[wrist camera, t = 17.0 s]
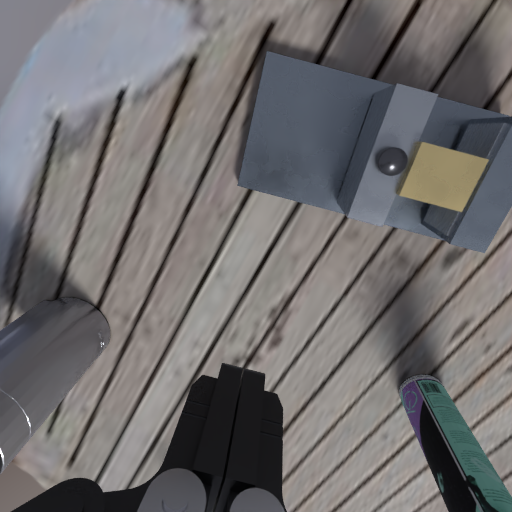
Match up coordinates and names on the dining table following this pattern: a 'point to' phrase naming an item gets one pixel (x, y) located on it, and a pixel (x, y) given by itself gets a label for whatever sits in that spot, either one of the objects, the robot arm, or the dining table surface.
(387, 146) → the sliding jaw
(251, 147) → the vise
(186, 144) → the dining table surface
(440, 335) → the dining table surface
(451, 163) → the block
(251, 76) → the dining table surface
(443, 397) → the spray can
